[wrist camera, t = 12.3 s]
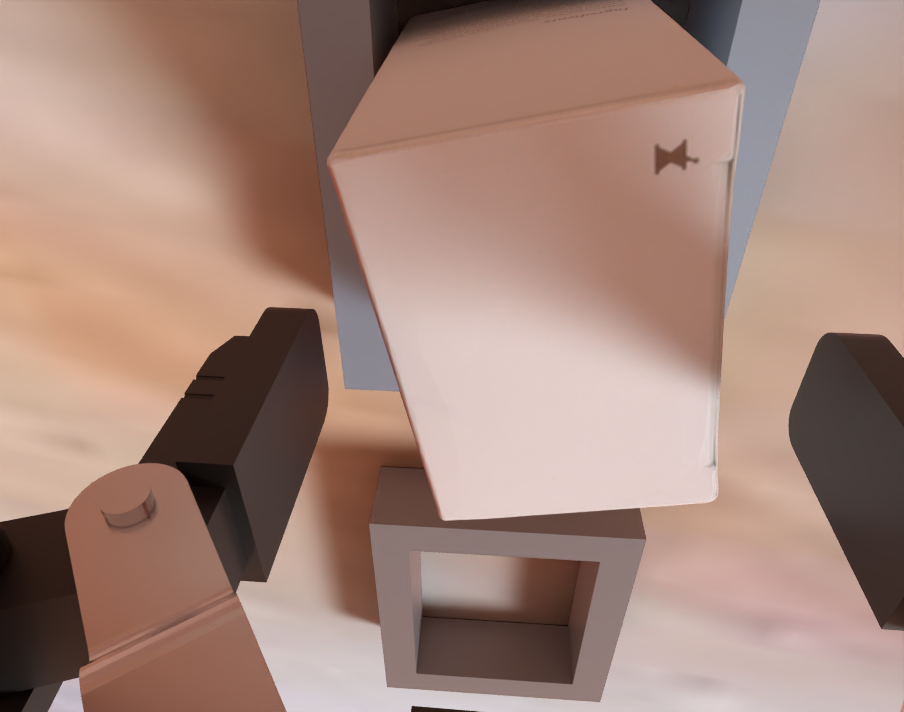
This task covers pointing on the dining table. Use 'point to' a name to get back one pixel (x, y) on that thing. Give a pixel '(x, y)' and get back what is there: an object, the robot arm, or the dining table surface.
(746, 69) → the port sleeve
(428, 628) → the frame
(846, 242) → the dining table surface
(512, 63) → the small box
